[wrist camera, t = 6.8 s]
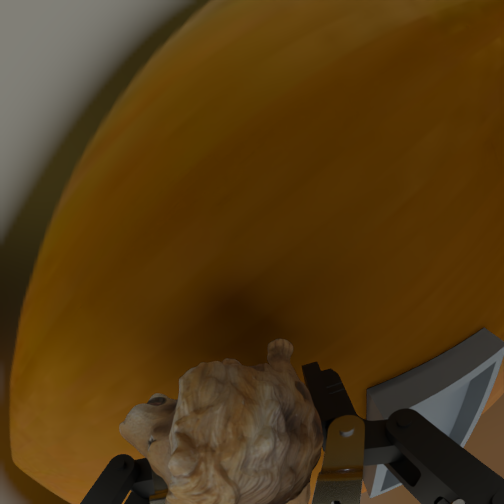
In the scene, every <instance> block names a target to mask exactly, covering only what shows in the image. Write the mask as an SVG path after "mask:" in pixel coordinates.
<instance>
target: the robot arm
mask: <svg viewBox="0 0 504 504" xmlns="http://www.w3.org/2000/svg"><path fill="white" fill-rule="evenodd" d="M302 370H303V375H304V380H305V384H306V388H307V389H308V390H309V392H310V395H311V397H312V401H313V404H314V406H315V408H316V410H317V412H318V414H319V417H320V420H321V426H322V431H323V433H322V434H323V437H324V439H323V444H322V447H323V451H325V453H324V459H323V465H322V470H321V472H319V475H318V478H317V482H316V487H315V491H314V496H313V500H312V504H360V497H361V489H362V478H363V466H369V465H379V464H384V465H385V466H386V468H387V469H388V470H389V471H390V472H391V473H392V474H393V475H394V476H395V477H396V478H397V479H398V480H399V481H400V482H401V483H402V484H403V485H404V487H405V488H406V489H407V490H408V491H409V492H410V493H411V494H412V495H413V496H414V497H415V498H416V499H417V500H418V501H419V502H420V503H421V504H504V479H503V478H502V477H500V476H499V475H498V474H496V473H495V472H494V471H492V470H491V469H490V468H488V467H487V466H486V465H484V464H483V463H481V461H479V460H478V459H477V458H475V457H474V456H473V455H471V454H470V453H469V452H467V451H466V450H465V449H464V448H462V447H461V446H460V445H459V444H457V443H456V442H455V441H453V440H452V439H451V438H450V437H448V436H447V435H446V434H445V433H443V432H442V431H441V430H440V429H438V428H437V427H436V426H434V425H433V424H432V423H431V422H429V421H428V420H427V419H426V418H424V417H423V416H422V415H421V414H419V413H418V412H417V411H415V410H413V409H409V408H404V409H399V410H397V411H395V412H393V413H392V414H391V415H390V416H389V417H388V419H384V420H376V421H369V420H365V419H362V418H361V417H359V416H358V415H357V414H356V412H355V410H354V408H353V405H352V403H351V401H350V399H349V397H348V394H347V392H346V390H345V388H344V386H343V383H342V381H341V379H340V377H339V375H338V374H337V373H336V372H335V371H333V370H332V369H328V370H324V371H321V370H320V368H319V365H318V363H317V362H313V363H310V364H306V365H303V366H302ZM130 490H131V491H132V492H131V493H130V495H129V497H128V498H127V500H126V501H125V503H124V504H165V500H166V496H167V494H168V485H167V484H166V482H165V481H164V479H163V478H162V477H160V476H159V475H157V474H156V473H155V472H154V471H153V469H152V468H151V466H150V463H149V461H148V459H147V458H143V459H138V460H134V459H133V458H132V457H131V456H129V455H126V454H121V455H117V456H115V457H114V458H113V459H112V460H111V461H110V462H109V464H108V465H107V466H106V468H105V469H104V471H103V472H102V474H101V475H100V476H99V478H98V479H97V481H96V482H95V483H94V485H93V486H92V488H91V489H90V490H89V492H88V493H87V495H86V496H85V497H84V499H83V500H82V502H81V503H80V504H122V502H123V501H124V499H125V497H126V496H127V494H128V492H129V491H130Z"/></svg>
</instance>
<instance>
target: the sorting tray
mask: <svg viewBox="0 0 504 504" xmlns="http://www.w3.org/2000/svg"><path fill="white" fill-rule="evenodd" d="M503 356H504V342H503V341H502V340H501V339H499V338H498V337H497V336H495V335H494V334H493V333H491V332H490V331H488V330H487V329H486V328H483V329H482V330H480V331H479V332H477V333H476V334H474V335H473V336H471V337H469V338H468V339H466V340H465V341H463V342H462V343H460V344H458V345H457V346H455V347H453V348H452V349H450V350H448V351H446V352H445V353H443V354H441V355H439V356H437V357H436V358H434V359H432V360H430V361H428V362H426V363H424V364H422V365H420V366H418V367H416V368H414V369H412V370H410V371H408V372H406V373H404V374H402V375H400V376H397V377H395V378H393V379H391V380H388V381H386V382H384V383H381V384H379V385H376V386H374V387H372V388H369V389H367V420H369V421H376V420H384V419H388V417H389V416H390V415H391V414H392V413H393V412H395V411H397V410H399V409H404V408H409V409H413V410H415V411H417V412H418V413H419V414H421V415H422V416H423V417H424V418H426V419H427V420H428V421H429V422H431V423H432V424H433V425H434V426H436V427H437V428H438V429H440V430H441V431H442V432H443V433H445V434H446V435H447V436H448V437H450V438H451V439H452V440H453V441H455V442H456V443H457V444H459V445H460V446H461V447H462V448H463V447H464V445H465V444H466V442H467V440H468V438H469V436H470V434H471V433H472V431H473V429H474V427H475V425H476V423H477V421H478V419H479V417H480V415H481V413H482V411H483V409H484V406H485V404H486V402H487V400H488V397H489V395H490V392H491V390H492V387H493V385H494V382H495V380H496V377H497V374H498V371H499V368H500V365H501V362H502V359H503ZM362 479H363V481H364V484H365V487H366V489H367V492H368V495H369V497H370V498H372V497H375V496H377V495H379V494H382V493H384V492H387V491H389V490H391V489H394V488H396V487H398V486H400V485H402V483H401V482H400V481H399V480H398V479H397V478H396V477H395V476H394V475H393V474H392V473H391V472H390V471H389V470H388V469H387V468H386V466H385V465H384V464H379V465H369V466H364V467H363V478H362Z"/></svg>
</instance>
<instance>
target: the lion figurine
mask: <svg viewBox="0 0 504 504" xmlns="http://www.w3.org/2000/svg"><path fill="white" fill-rule="evenodd" d="M292 353H293V346H292V344H291V343H290V342H289V341H287V340H285V339H276V340H274V341H271V342H270V343H269V344H268V356H267V361H268V362H269V364H270V365H269V364H267V363H264V364H258V365H257V366H249V367H248V366H243V365H241V364H240V362H238V361H237V360H236V359H228V358H226V359H224V360H223V361H222V362H219V361H214V362H210V363H205V362H202V363H200V364H199V365H198V366H197V367H194V368H191V369H190V370H188V371H187V372H186V373H185V375H183V376H182V377H181V378H180V379H179V396H178V400H174V399H170V398H168V397H167V396H165V395H163V394H154V395H152V397H151V398H150V400H149V401H148V403H147V404H138V405H136V406H135V407H134V408H133V409H132V410H131V411H130V412H129V413H128V415H127V417H126V419H125V421H124V422H122V423H121V424H120V426H119V430H120V433H121V435H122V436H123V438H125V439H126V440H127V441H128V442H129V443H130V444H132V445H133V446H134V447H135V448H136V449H137V450H138V451H139V452H140V453H141V454H142V455H144V456H145V457H146V458H147V459H148V461H149V463H150V466H151V468H152V469H153V471H154V472H155V473H156V474H157V475H159V476H160V477H162V478H163V479H164V481H165V482H166V484H167V485H168V494H167V496H166V500H165V504H308V502H309V499H310V483H309V482H310V477H311V473H312V470H313V469H314V468H315V466H316V465H317V463H318V460H319V458H320V456H321V447H322V444H323V439H324V437H323V434H322V433H323V431H322V426H321V420H320V417H319V414H318V412H317V410H316V408H315V406H314V404H313V401H312V397H311V395H310V392H309V390H308V389H307V388H306V386H305V385H304V383H302V382H301V381H300V379H299V378H298V376H297V374H296V372H295V370H294V368H293V367H292V365H291V364H290V357H291V355H292Z"/></svg>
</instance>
